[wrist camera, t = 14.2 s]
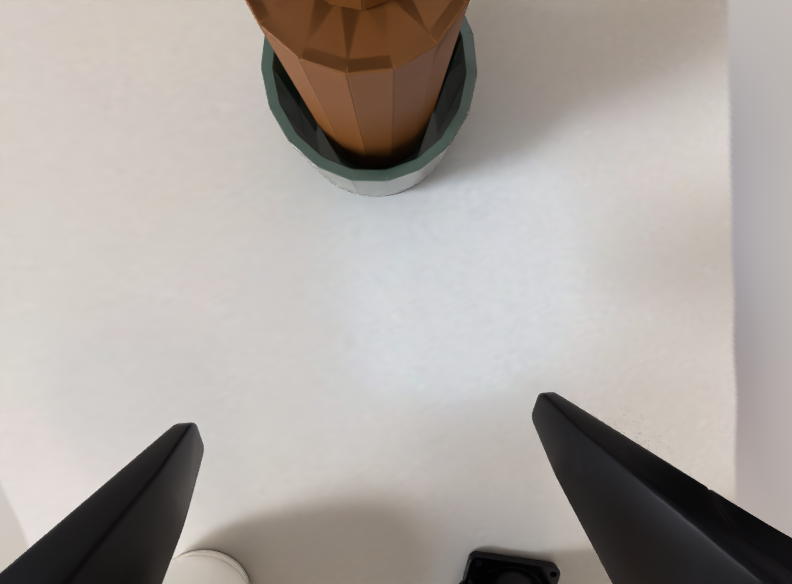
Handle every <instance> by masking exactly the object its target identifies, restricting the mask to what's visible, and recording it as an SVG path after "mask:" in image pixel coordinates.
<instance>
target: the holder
mask: <svg viewBox="0 0 792 584" xmlns="http://www.w3.org/2000/svg"><path fill="white" fill-rule="evenodd" d="M261 70H262V75H263V79H264V84H265V89H266V94H267V99H268V104H269V107H270V110H271V111H272V113H273V115H274V117H275V118H276V120H277V122H278V124H279V125H280V127H281V129H282V131H283V132H284V134H285V136H286V138H287V139H288V141H289V142H290V143H291V144H292V145H293V146H294V147H295V148H296V150H297V151H298V152H299V153H300V154H301V155H302V156H303V157H304V158H305V159H306V160H307V161H308V162H309V163H310V164H311V165H312V166H313V167H315V168H316V169H317V170H318V171H319V172H320V173H321V174H322V175H323V176H324V177H326V178H327V179H328V180H329V181H330V182H331V183H333V184H335V185H337V186H339V187H340V188H342V189H345V190H347V191H349V192H352V193H356V194H359V195H365V196H386V195H392V194H396V193H400V192H402V191H405V190H407V189H409V188H411V187H413V186H414V185H416V184H418V183H419V182H420V181H422V180H423V179H424V178H425V177H427V176H428V175H429V174H430V173H431V172H432V171H433V170H434V169H435V168H436V167H437V165H438V164H439V162H440V161H441V159H442V157H443V156H444V154H445V152H446V151H447V149H448V147H449V146H450V144H451V143H452V141H453V139H454V137H455V136H456V134H457V132H458V131H459V129H460V127H461V126H462V124H463V122H464V121H465V119H466V117H467V116H468V113H469V110H470V106H471V101H472V96H473V92H474V87H475V82H476V78H477V66H476V57H475V47H474V38H473V33H472V30H471V27H470V25H469V23H468V21H467V19H466V17H465V16H464V19H463V22H462V25H461V28H460V31H459V34H458V37H457V40H456V43H455V46H454V49H453V52H452V55H451V58H450V61H449V64H448V67H447V70H446V74H445V77H444V80H443V83H442V86H441V89H440V92H439V95H438V98H437V101H436V104H435V107H434V110H433V113H432V116H431V119H430V122H429V125H428V128H427V131H426V134H425V136H424V138H423V139H422V141H421V143H420V144H419V146H418V147H417V149H416V150H415V151H414V152H413V153H412V154H411V155H410V156H409V157H408V158H406V159H405V160H403V161H402V162H400V163H398V164H396V165H393V166H390V167H387V168H381V169H371V168H365V167H360V166H358V165H355V164H353V163H351V162H349V161H347V160H346V159H345V158H343V157H342V156H341V155H340V154H339V153H337V152H336V151H335V149H334V148H333V147H332V146H331V145H330V144H329V142H328V140H327V139H326V137H325V135H324V134H323V132H322V130H321V128H320V127H319V125H318V123H317V122H316V120H315V118H314V117H313V115H312V113H311V112H310V110H309V108H308V107H307V105H306V103H305V102H304V100H303V98H302V97H301V95H300V93H299V92H298V90H297V88H296V87H295V85H294V83H293V81H292V80H291V78H290V76H289V75H288V73H287V71H286V70H285V68H284V66H283V65H282V63H281V61H280V60H279V58H278V56H277V55H276V53H275V51H274V50H273V48H272V46H271V45H270V43H269V41H268V40H267V38H266V36H265V38H264V46H263V54H262V63H261Z"/></svg>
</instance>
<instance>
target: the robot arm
mask: <svg viewBox="0 0 792 584" xmlns="http://www.w3.org/2000/svg"><path fill="white" fill-rule="evenodd" d="M532 420H533V423H534V425H535V428H536V430H537V433H538V435H539V437H540V440H541V442H542V445H543V447H544V449H545V452H546V454H547V457H548V459H549V461H550V464H551V466H552V468H553V471H554V473H555V475H556V477H557V479H558V481H559V483H560V485H561V487H562V489H563V491H564V493H565V495H566V496H567V498H568V500H569V502H570V504H571V506H572V508H573V510H574V512H575V513H576V515H577V517H578V519H579V521H580V523H581V525H582V527H583V529H584V530H585V532H586V534H587V536H588V538H589V540H590V542H591V544H592V546H593V548H594V549H595V551H596V553H597V555H598V557H599V559H600V561H601V563H602V565H603V566H604V568H605V570H606V572H607V574H608V576H609V578H610V580H611V582H612V583H613V584H792V538H791V537H789V536H787V535H785V534H784V533H782V532H780V531H778V530H777V529H775V528H773V527H772V526H770V525H768V524H766V523H765V522H763V521H761V520H760V519H758V518H756V517H755V516H753V515H751V514H750V513H748V512H747V511H745V510H743V509H741V508H740V507H738V506H737V505H735V504H733V503H732V502H730V501H729V500H727V499H725V498H724V497H722V496H721V495H719V494H717V493H716V492H714V491H712V490H708V488H707V487H706V486H704V485H703V484H701V483H700V482H698V481H696V480H695V479H693V478H691V477H690V476H688V475H687V474H685V473H683V472H682V471H680V470H679V469H677V468H675V467H674V466H672V465H671V464H669V463H667V462H666V461H664V460H663V459H661V458H659V457H658V456H656V455H655V454H653V453H651V452H650V451H648V450H647V449H645V448H643V447H642V446H640V445H639V444H637V443H635V442H634V441H632V440H630V439H629V438H627V437H626V436H624V435H622V434H621V433H619V432H618V431H616V430H614V429H613V428H611V427H610V426H608V425H606V424H605V423H603V422H602V421H600V420H598V419H597V418H595V417H594V416H592V415H590V414H589V413H587V412H586V411H584V410H582V409H581V408H579V407H578V406H576V405H574V404H573V403H571V402H569V401H568V400H566V399H565V398H563V397H561V396H560V395H558V394H556V393H554V392H547V393H540V394H539V395H538V397H537V400H536V403H535V406H534V409H533V412H532ZM203 451H204V446H203V442H202V439H201V436H200V433H199V430H198V427H197V425H196V424H195V423H180V424H176V425H174V426H172V427H171V428H170V429H169V430H167V431H166V432H165V433H164V434H163V435H162V436H160V437H159V438H158V439H157V440H156V441H154V442H153V443H152V444H151V445H150V446H149V447H147V448H146V449H145V450H144V451H143V452H142V453H140V454H139V455H138V456H137V457H136V458H135V459H133V460H132V461H131V462H130V463H129V464H128V465H126V466H125V467H124V468H123V469H122V470H121V471H119V472H118V473H117V474H116V475H115V476H114V477H112V478H111V479H110V480H109V481H108V482H107V483H105V484H104V485H103V486H102V487H101V488H99V489H98V490H97V491H96V492H95V493H94V494H92V495H91V496H90V497H89V498H88V499H87V500H85V501H84V502H83V503H82V504H81V505H80V506H78V507H77V508H76V509H75V510H74V511H73V512H71V513H70V514H69V515H68V516H67V517H66V518H64V519H63V520H62V521H61V522H60V523H59V524H57V525H56V526H55V527H54V528H53V529H51V530H50V531H49V532H48V533H47V534H46V535H44V536H43V537H42V538H41V539H40V540H39V541H37V542H36V543H35V544H34V545H33V546H32V547H30V548H29V549H28V550H27V551H26V552H25V553H24V554H22V555H21V556H20V557H19V558H18V559H16V560H15V561H14V562H13V563H12V564H11V565H9V566H8V567H7V568H6V569H5V570H3V571H2V572H1V573H0V584H162V583H163V580H164V578H165V575H166V572H167V570H168V567H169V564H170V562H171V559H172V556H173V554H174V551H175V548H176V546H177V543H178V540H179V538H180V535H181V532H182V529H183V526H184V523H185V520H186V516H187V513H188V509H189V505H190V502H191V498H192V494H193V491H194V487H195V483H196V479H197V476H198V472H199V468H200V464H201V461H202V457H203ZM559 577H560V571H559V569H558V567H557V565H556V564H555V563H552V562H545V561H539V560H532V559H525V558H519V557H512V556H505V555H499V554H492V553H485V552H479V551H474V552H472V553H470V555H469V557H468V561H467V565H466V568H465V572H464V576H463V580H461V582H460V583H459V584H557V583H558V580H559Z"/></svg>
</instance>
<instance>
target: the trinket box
mask: <svg viewBox="0 0 792 584" xmlns="http://www.w3.org/2000/svg"><path fill="white" fill-rule="evenodd" d="M162 584H250V582H249V579H248V576H247V574H246V572H245V570H244V569H243V568H242V566H241V565H240V564H239V563H238V562H237V561H235V560H234V559H233V558H231V557H229V556H228V555H226V554H223V553H220V552H217V551H213V550H195V551H190V552H187V553H185V554H182V555H180V556H179V557H177V558H173V559H171V562H170V564H169V567H168V570H167V572H166V575H165V578H164V580H163V583H162Z"/></svg>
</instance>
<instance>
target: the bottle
mask: <svg viewBox="0 0 792 584" xmlns="http://www.w3.org/2000/svg"><path fill="white" fill-rule="evenodd" d="M245 1H246V3H247V4H248V6H249V8H250V10H251V12H252V14H253V15H254V17H255V19H256V21H257V23H258V24H259V26H260V28H261V29H262V31H263V33H264V35H265V36H266V38H267V40H268V41H269V43H270V45H271V46H272V48H273V50H274V51H275V53H276V55H277V56H278V58H279V60H280V61H281V63H282V65H283V66H284V68H285V70H286V71H287V73H288V75H289V76H290V78H291V80H292V81H293V83H294V85H295V87H296V88H297V90H298V92H299V93H300V95H301V97H302V98H303V100H304V102H305V103H306V105H307V107H308V108H309V110H310V112H311V113H312V115H313V117H314V118H315V120H316V122H317V123H318V125H319V127H320V128H321V130H322V132H323V134H324V135H325V137H326V139H327V140H328V142H329V144H330V145H331V146H332V147H333V148H334V149H335V151H336V152H337V153H339V154H340V155H341V156H342V157H343V158H345V159H346V160H347V161H349V162H351V163H353V164H355V165H358V166H360V167H365V168H371V169H381V168H387V167H390V166H393V165H396V164H398V163H400V162H402V161H403V160H405V159H406V158H408V157H409V156H410V155H411V154H412V153H413V152H414V151H415V150H416V149H417V147H418V146H419V144H420V143H421V141H422V139H423V138H424V136H425V134H426V131H427V128H428V125H429V122H430V119H431V116H432V113H433V110H434V107H435V104H436V101H437V98H438V95H439V92H440V89H441V86H442V83H443V80H444V77H445V74H446V70H447V67H448V64H449V61H450V58H451V55H452V52H453V49H454V46H455V43H456V40H457V37H458V34H459V31H460V28H461V25H462V22H463V19H464V16H465V13H466V10H467V7H468V4H469V0H245Z"/></svg>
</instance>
